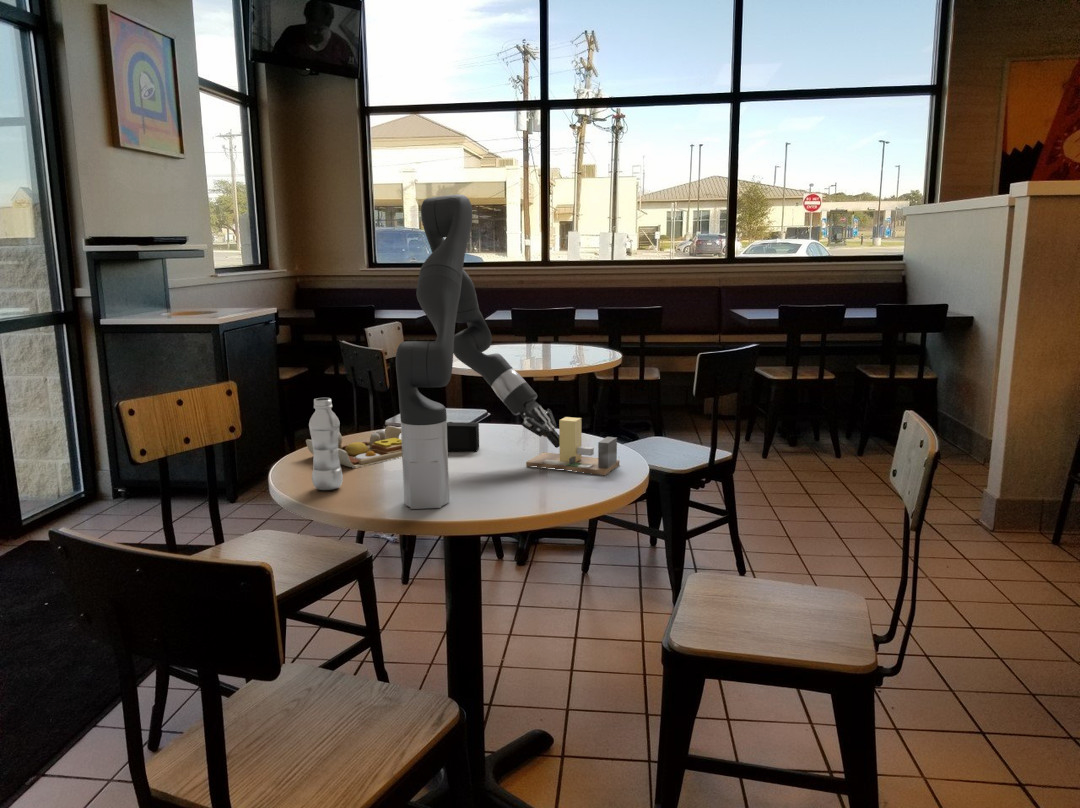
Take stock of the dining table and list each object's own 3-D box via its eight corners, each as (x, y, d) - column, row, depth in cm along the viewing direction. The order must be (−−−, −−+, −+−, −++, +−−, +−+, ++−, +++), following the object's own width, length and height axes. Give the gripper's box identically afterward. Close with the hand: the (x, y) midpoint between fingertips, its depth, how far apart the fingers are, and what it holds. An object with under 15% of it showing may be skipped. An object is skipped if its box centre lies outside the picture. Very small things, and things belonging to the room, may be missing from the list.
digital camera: (480, 447, 209) (479, 421, 207) (477, 452, 203) (476, 425, 202) (442, 446, 210) (441, 420, 208) (437, 451, 204) (436, 425, 203)
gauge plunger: (556, 463, 186) (555, 421, 184) (566, 457, 192) (565, 416, 190) (586, 466, 183) (586, 424, 181) (595, 460, 188) (595, 419, 186)
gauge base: (526, 466, 189) (525, 437, 187) (543, 456, 198) (543, 428, 196) (604, 475, 180) (605, 445, 179) (619, 465, 189) (619, 435, 188)
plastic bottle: (331, 483, 177) (325, 395, 173) (349, 488, 173) (344, 398, 169) (306, 489, 172) (300, 399, 168) (325, 495, 168) (319, 403, 164)
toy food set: (345, 472, 187) (343, 441, 185) (305, 459, 199) (303, 430, 198) (429, 452, 205) (428, 423, 203) (388, 441, 217) (387, 414, 216)
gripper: (511, 385, 185) (559, 441, 182) (535, 377, 196) (581, 429, 194) (491, 406, 188) (539, 461, 185) (516, 397, 200) (561, 448, 197)
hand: (560, 445), depth 189 cm, fingers closed
